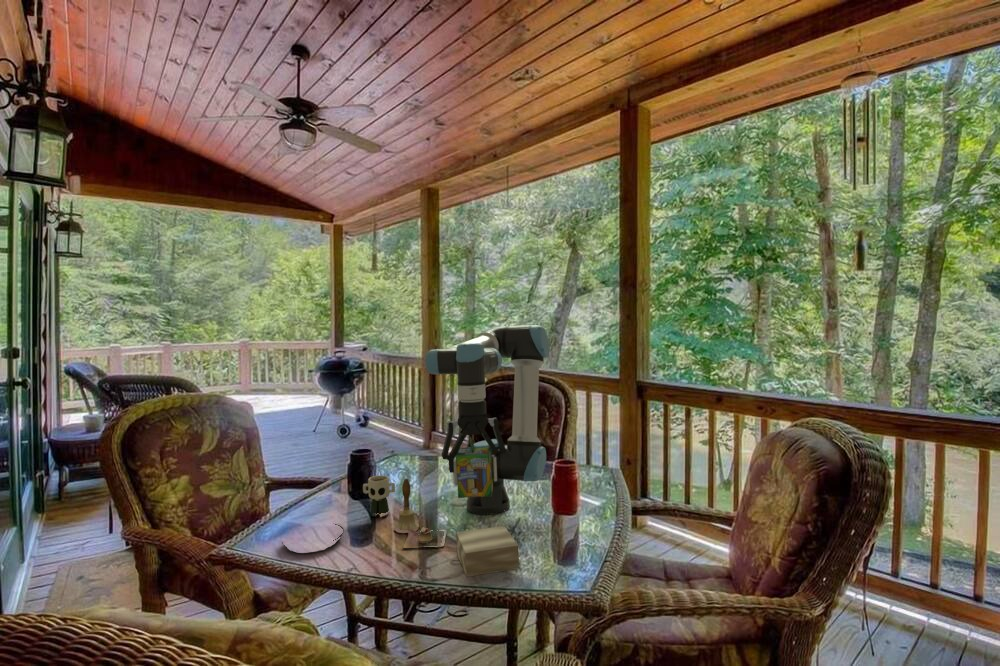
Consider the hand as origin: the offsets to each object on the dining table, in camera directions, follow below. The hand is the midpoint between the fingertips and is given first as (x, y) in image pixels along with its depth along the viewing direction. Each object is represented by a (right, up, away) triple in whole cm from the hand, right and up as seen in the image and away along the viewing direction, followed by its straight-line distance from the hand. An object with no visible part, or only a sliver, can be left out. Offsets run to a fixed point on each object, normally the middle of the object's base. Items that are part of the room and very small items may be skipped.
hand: (475, 481), depth 138 cm
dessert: (-16, -23, +15) cm, 32 cm away
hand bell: (-23, -22, +24) cm, 40 cm away
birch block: (+3, -21, 0) cm, 22 cm away
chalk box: (0, -3, 0) cm, 3 cm away
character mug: (-34, -23, +37) cm, 55 cm away
